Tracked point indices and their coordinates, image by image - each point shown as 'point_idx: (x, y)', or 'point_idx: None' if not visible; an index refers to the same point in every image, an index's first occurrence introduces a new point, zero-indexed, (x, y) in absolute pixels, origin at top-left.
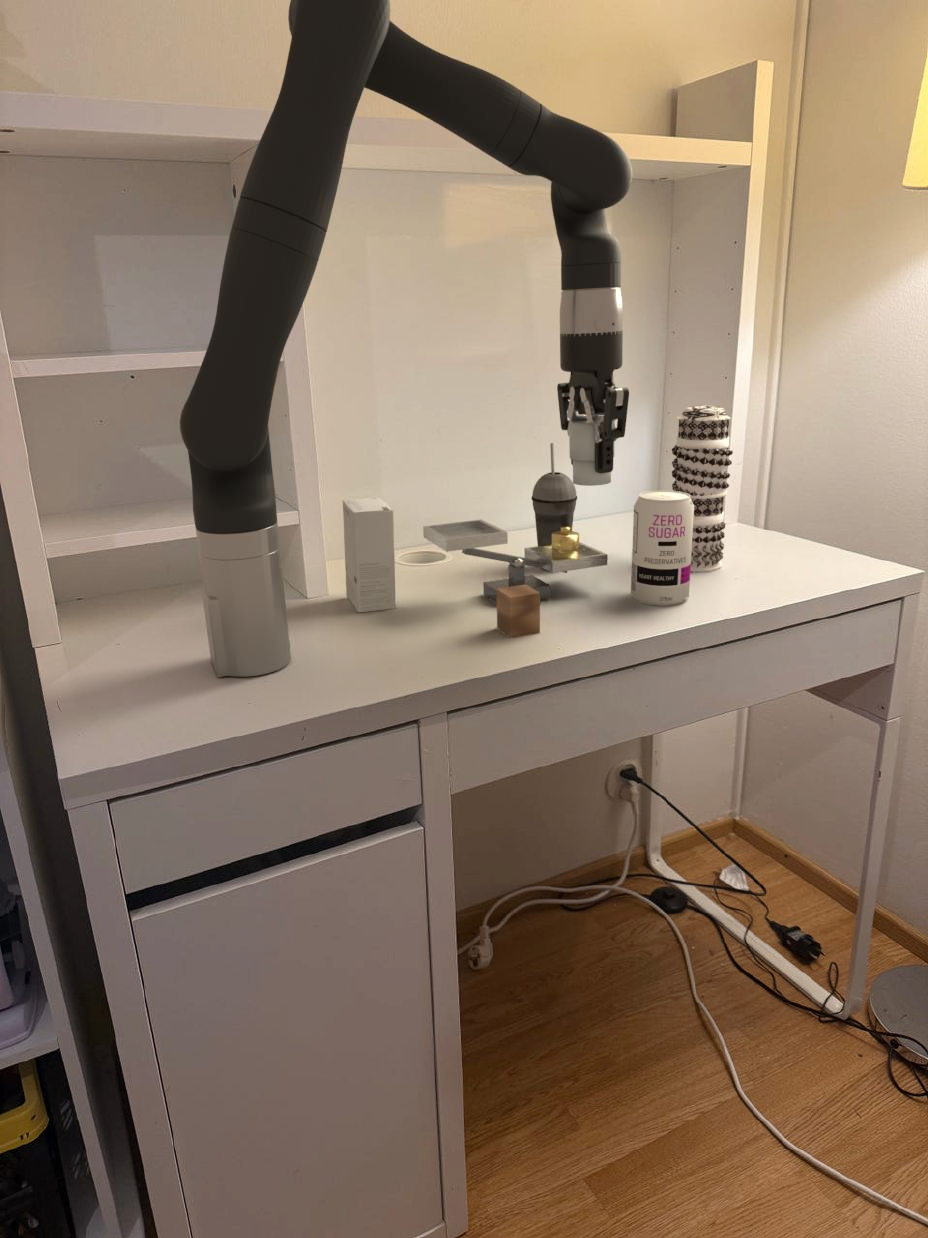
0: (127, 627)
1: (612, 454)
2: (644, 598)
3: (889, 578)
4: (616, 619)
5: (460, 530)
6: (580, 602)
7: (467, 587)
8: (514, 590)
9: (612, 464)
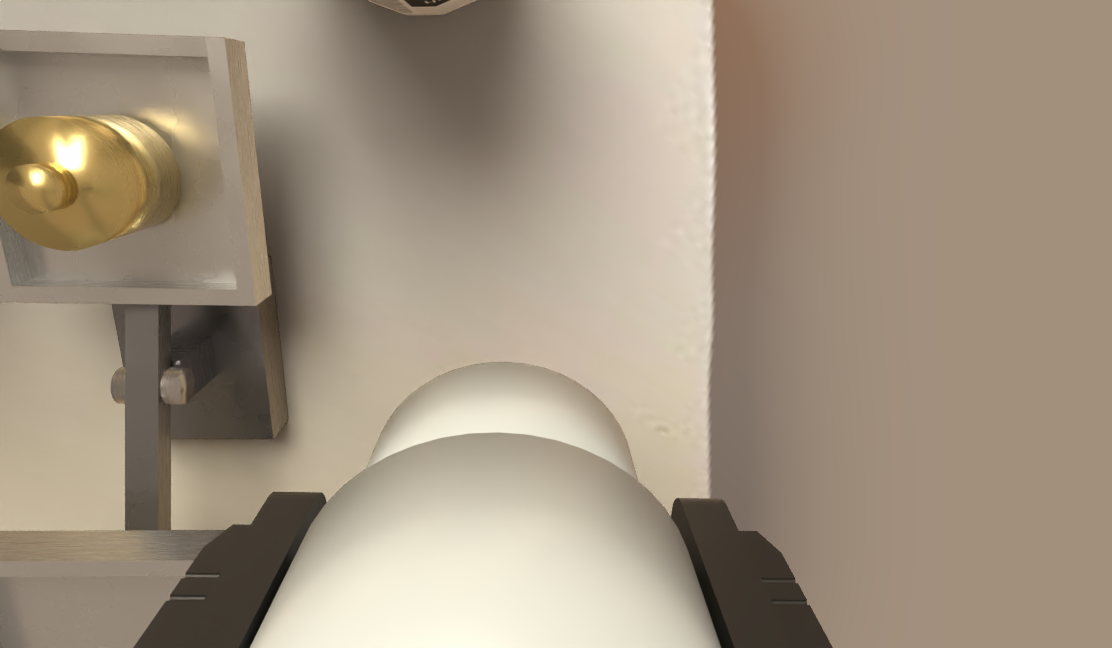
0: None
1: (814, 622)
2: (461, 5)
3: None
4: (543, 178)
5: (11, 632)
6: (345, 189)
7: (58, 428)
8: None
9: (776, 556)
